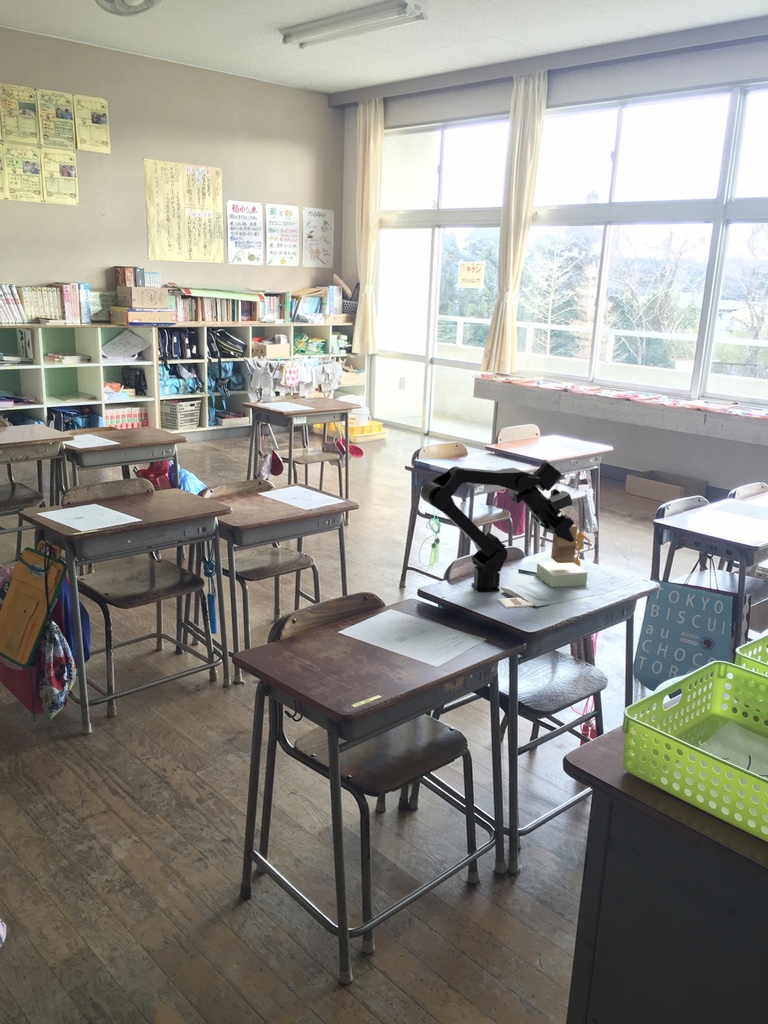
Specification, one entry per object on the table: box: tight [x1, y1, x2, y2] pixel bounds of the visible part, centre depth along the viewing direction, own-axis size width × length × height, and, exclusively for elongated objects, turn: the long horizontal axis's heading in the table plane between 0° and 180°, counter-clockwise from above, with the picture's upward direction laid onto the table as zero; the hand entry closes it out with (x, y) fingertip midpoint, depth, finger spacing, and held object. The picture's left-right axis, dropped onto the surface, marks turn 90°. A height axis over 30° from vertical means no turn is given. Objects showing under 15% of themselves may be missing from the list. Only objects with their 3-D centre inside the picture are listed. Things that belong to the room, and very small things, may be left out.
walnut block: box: [550, 523, 578, 563], centre depth 238 cm, size 5×5×11 cm
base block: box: [535, 561, 588, 588], centre depth 243 cm, size 11×11×4 cm
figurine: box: [574, 531, 591, 567], centre depth 252 cm, size 8×6×12 cm
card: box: [497, 597, 534, 609], centre depth 223 cm, size 8×6×1 cm
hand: (568, 538), depth 238 cm, fingers closed on walnut block, 5 cm apart
